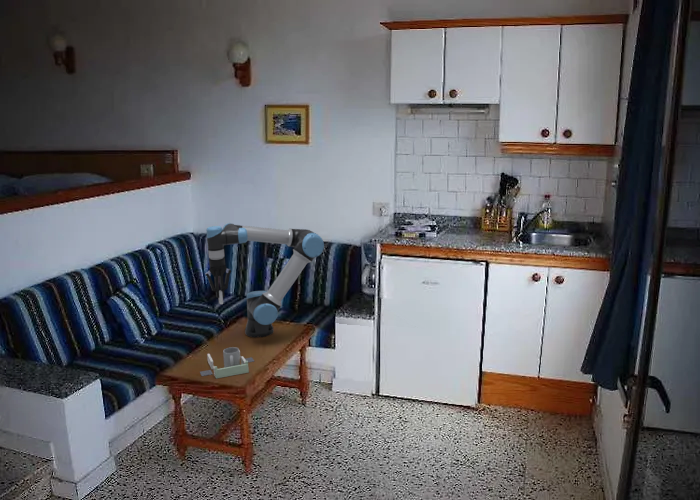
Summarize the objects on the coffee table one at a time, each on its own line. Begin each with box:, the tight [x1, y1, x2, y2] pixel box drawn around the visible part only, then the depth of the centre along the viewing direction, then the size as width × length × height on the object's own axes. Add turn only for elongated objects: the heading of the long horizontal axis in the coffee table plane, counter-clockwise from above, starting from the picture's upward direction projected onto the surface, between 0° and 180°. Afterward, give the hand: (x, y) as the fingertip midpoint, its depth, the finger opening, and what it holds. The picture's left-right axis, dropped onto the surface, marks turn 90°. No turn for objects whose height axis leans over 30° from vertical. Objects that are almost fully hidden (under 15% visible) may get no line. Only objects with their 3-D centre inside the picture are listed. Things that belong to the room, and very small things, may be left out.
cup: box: [222, 346, 241, 368], centre depth 273 cm, size 7×10×9 cm
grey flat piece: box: [199, 350, 255, 379], centre depth 276 cm, size 26×20×5 cm
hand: (221, 303), depth 295 cm, fingers closed
